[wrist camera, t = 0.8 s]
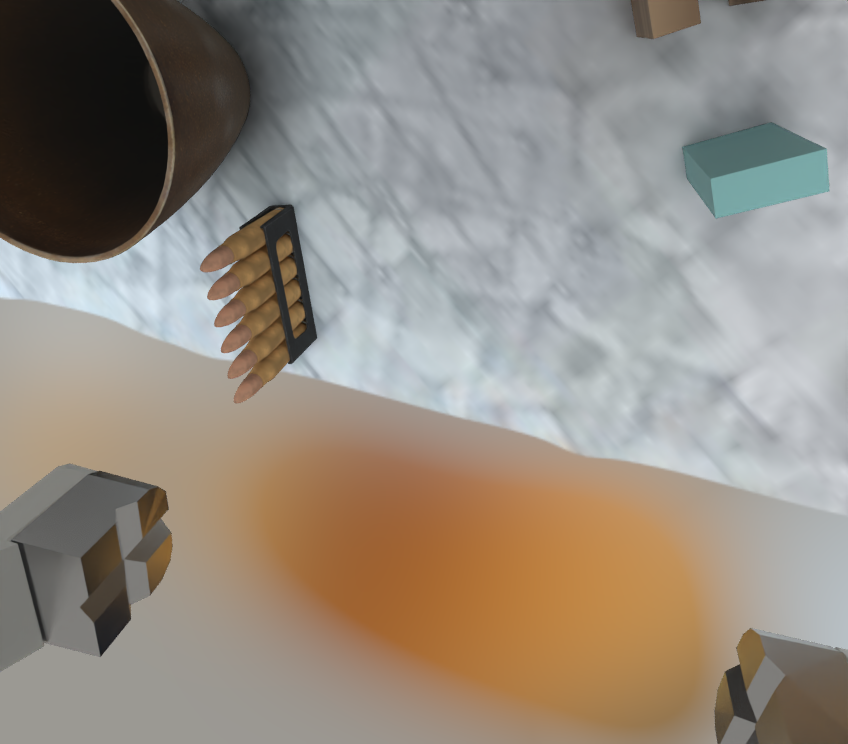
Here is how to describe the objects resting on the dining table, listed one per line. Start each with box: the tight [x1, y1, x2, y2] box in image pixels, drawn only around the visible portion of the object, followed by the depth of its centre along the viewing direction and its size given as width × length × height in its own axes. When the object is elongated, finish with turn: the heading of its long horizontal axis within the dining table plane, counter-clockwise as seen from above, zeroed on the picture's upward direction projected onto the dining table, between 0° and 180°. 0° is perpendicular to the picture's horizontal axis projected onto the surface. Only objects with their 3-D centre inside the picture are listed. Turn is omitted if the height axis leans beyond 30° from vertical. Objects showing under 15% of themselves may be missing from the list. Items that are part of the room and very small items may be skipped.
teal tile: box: [682, 122, 829, 218], centre depth 35 cm, size 2×5×10 cm, turn 108°
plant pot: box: [0, 0, 250, 263], centre depth 38 cm, size 15×15×16 cm
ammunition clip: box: [200, 205, 317, 403], centre depth 45 cm, size 11×2×12 cm, turn 5°
